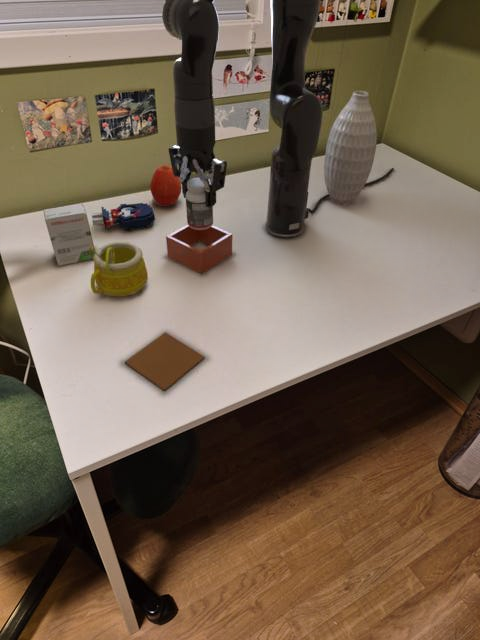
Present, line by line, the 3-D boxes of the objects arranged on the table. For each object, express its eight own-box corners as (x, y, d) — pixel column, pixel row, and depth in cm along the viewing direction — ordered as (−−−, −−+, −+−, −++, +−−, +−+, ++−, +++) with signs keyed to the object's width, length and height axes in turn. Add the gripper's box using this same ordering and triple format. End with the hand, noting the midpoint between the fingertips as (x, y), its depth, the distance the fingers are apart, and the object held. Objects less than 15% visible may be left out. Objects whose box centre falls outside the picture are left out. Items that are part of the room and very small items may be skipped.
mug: (125, 264, 105) (117, 216, 97) (159, 283, 100) (153, 234, 92) (77, 290, 98) (65, 240, 90) (111, 312, 93) (101, 262, 85)
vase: (370, 197, 133) (394, 91, 115) (353, 215, 125) (376, 104, 107) (330, 185, 138) (346, 82, 120) (311, 202, 130) (326, 94, 111)
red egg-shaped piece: (177, 212, 124) (175, 173, 117) (147, 209, 125) (143, 170, 118) (185, 198, 130) (183, 160, 123) (156, 195, 131) (153, 157, 124)
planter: (198, 238, 114) (197, 218, 111) (232, 254, 109) (232, 233, 106) (167, 256, 108) (165, 236, 104) (201, 274, 103) (200, 253, 100)
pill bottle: (187, 218, 105) (184, 176, 99) (212, 217, 106) (211, 175, 99) (187, 231, 101) (184, 188, 94) (213, 230, 101) (212, 187, 95)
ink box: (93, 248, 110) (83, 202, 102) (97, 259, 107) (87, 212, 99) (55, 255, 107) (42, 208, 100) (57, 266, 104) (44, 219, 96)
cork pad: (165, 334, 88) (165, 332, 88) (204, 358, 84) (204, 356, 84) (124, 363, 83) (124, 361, 82) (164, 391, 78) (164, 389, 78)
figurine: (90, 204, 117) (150, 198, 120) (93, 219, 120) (151, 212, 123) (92, 221, 111) (155, 214, 114) (95, 236, 114) (156, 229, 117)
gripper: (237, 123, 87) (236, 205, 99) (181, 107, 94) (186, 185, 105) (210, 134, 83) (213, 219, 94) (154, 117, 90) (162, 197, 101)
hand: (199, 201), depth 100 cm, fingers closed on pill bottle, 5 cm apart
